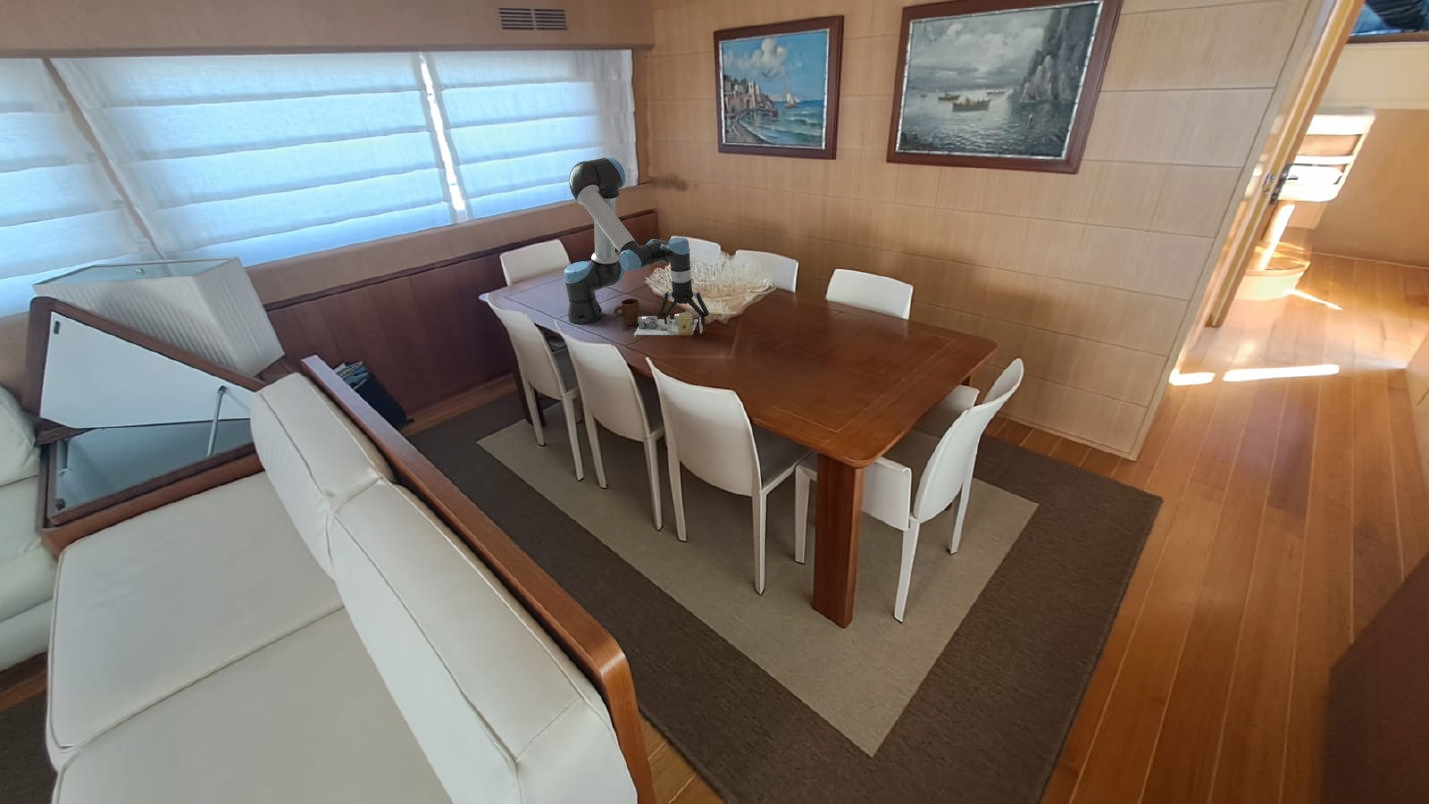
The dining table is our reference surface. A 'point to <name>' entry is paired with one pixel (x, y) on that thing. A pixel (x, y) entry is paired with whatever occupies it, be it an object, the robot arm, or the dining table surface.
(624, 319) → the mug
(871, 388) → the dining table surface
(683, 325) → the coupler
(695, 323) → the rig board
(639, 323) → the grey mechanical block
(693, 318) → the grey metal block
